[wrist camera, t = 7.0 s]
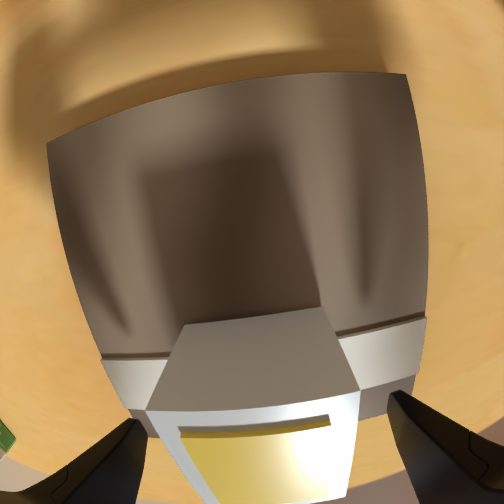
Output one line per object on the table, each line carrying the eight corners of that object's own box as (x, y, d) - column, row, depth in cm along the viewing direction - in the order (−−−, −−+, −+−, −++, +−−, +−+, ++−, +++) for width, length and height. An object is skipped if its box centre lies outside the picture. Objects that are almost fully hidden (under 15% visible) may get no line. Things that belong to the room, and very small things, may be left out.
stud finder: (322, 306, 10) (363, 396, 5) (327, 418, 11) (345, 500, 7) (184, 324, 10) (142, 415, 6) (220, 430, 12) (208, 512, 7)
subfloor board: (392, 82, 9) (408, 72, 8) (400, 392, 13) (410, 408, 11) (63, 144, 10) (43, 143, 8) (150, 422, 13) (143, 439, 12)
